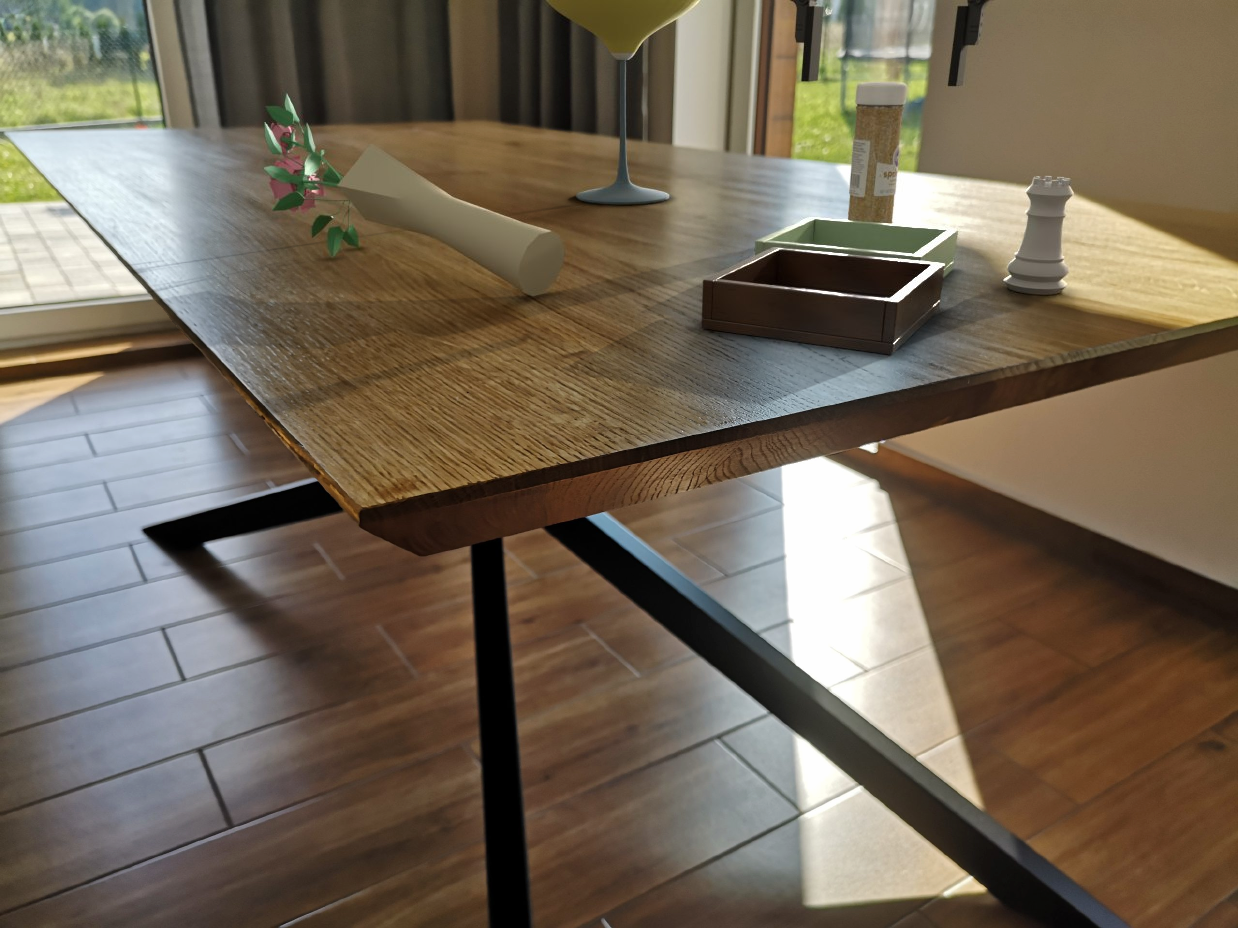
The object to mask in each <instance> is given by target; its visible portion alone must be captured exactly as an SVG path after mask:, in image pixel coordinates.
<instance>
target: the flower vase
mask: <svg viewBox="0 0 1238 928" xmlns="http://www.w3.org/2000/svg"><path fill="white" fill-rule="evenodd" d="M283 105H284V107H281V106H278V105H265V109H266V111H267V112H268V114H269V115H270V117H271V118H272V119H273V120H274V122H276V124H275V123H274V122H272V123H271V125H270V127H269V125H268V124H267V123H266V122H265V121H264V122H263V123H264V124H263V129H264V130H263V131H264V138H265V142H266V144H267V147H268V149H269V150H270V153H272V155H277V156H278V157H279V156H281V155H282V157H283V160H282V161H280V160H279V159H276V161H275V164H274V165H268V166H265V167H262V169H263V170H264V171H265V173H267V175H268V176H269V179H270V181H269V182H268V184H269V187H270V190H271V191H272V193H273V198H274V199H275V200H276V199H278V201H277V203H276V204H275V205H274V207H273V208H272V209H271V211H272V212H277V211H281V212H282V211H288V210H289V211H291V212H292V213H293V214H296V213H297V211H300V212H301V213H302V214H305V213H307V212H308V211H309V209H312V208H313V209H314V208H317V205H316V204H315V202H316V201H325V202H342V205H341V207H340V208H339V211H337V212H336V213H332V214H331V215H328V214H319V215H318V216H316V217H315V219H314V221H313V222H312V225H311V227H310V229H311V231H310V233H311V234H310V235H311V239H313V238H314V237H316V236H317V235H318V234H319V233H321V232H322V231H323V230H324V229H325V228H326V227H327V226H328V225H329V223H330V222H331V221H333V219H334V216H335V215H338V214H339V213H340V212H341V211H342V209H343V207H344V204H345V202H348V205H347V206H348V209H347V211H346V213H345V215H344V217H343V220H342V222H341V224H340V225H335V226H330V227H328V230H327V234H326V246H327V248H328V251H329V254H330V256H331V258H332V259H333V258H334V256H336V255H337V253H338V251H339V250H340V249H341V246H342V242H343V241H344V243H346V244H347V246H350V247H351V246H352V247H355V248H360V244H359V243H360V242H359V234H358V232H357V230H356V227H355V226H354V224H351V225H350V222H351V221H350V220H351V219H350V210H351V208H350V207H352V206H353V207H354V208H355V209H356V211H358V213H359V214H360V215H361V217H362V218H363V219H364V220H365V221H369V222H373V223H376V224H380V225H384V226H388V227H391V228H396V229H400V230H404V231H408V232H411V233H412V232H413V233H416V234H420V235H424V236H427V237H430V238H433V239H435V240H437V241H439V242H441V243H443V244H445V245H447V246H448V247H450V248H451V249H453V250H454V251H456V252H458V253H459V254H462V255H463V256H465V257H466V258H468V259H469V260H471V261H472V262H474V263H476V265H479V266H480V267H482V268H484V269H485V270H487V271H488V272H490V273H491V274H493V275H495V276H496V277H498V278H500V279H501V280H503V281H504V282H506V283H507V284H509V285H511V286H512V287H514V288H516V289H517V290H519V291H520V292H522V293H524V294H526V295H528V296H531V297H536V296H539V295H541V294H545V293H546V291H548V290H549V289H550V287H551V286H553V284H554V283H555V282H556V281H557V279H558V277H559V275H560V273H561V270H562V268H563V266H564V259H565V254H566V253H565V252H566V248H565V245H564V242H563V240H562V239H563V238H562V236H561V235H560V234H557V233H556V232H554V231H552V230H550V229H546V228H543V227H539V226H536V225H533V224H528V223H526V222H523V221H519V220H517V219H515V218H511V217H509V216H506V215H503V214H500V213H498V212H494V211H493V210H490V209H487V208H484V207H481V206H479V205H476V204H473V203H471V202H468V201H465V200H462V199H459V198H457V197H454V196H452V195H450V194H448V192H446V191H445V190H443V189H441V188H440V187H439V186H436V184H434V183H432V182H431V181H429V179H426V178H425V177H423V176H422V175H420V174H418V173H417V172H416V171H414V170H412V169H411V168H409V167H408V166H406V165H405V164H403V163H402V162H400V161H399V160H397V159H396V158H394V157H393V156H391V155H390V154H388V153H387V152H386V151H384V150H382V149H381V148H380V147H378V146H377V145H375V144H373V143H370V145H369V146H368V147H367V148H366V149H365V150H364V152H363V153H362V154H361V155H360V157H359V158H357V160H356V161H355V163H354V164H353V165H352V167H351V168H350V169H349V170H348V171H347V173H346V174H344V175H342V174H341V173H340V172H339V171H337V170H335V169H334V168H333V166H332V165H331V164H330V163H329V162H328V161H327V160H326V158H325V157H324V154H325V150H324V149H321V150H320V153H319V152H318V151H317V150H316V144H315V141H314V139H313V135H312V131H311V128H310V126H309V124H308V122H306V123H305V126H304V130H303V128H302V125H301V124H300V121H301V120H300V119H299V117H298V115H297V112H296V109H295V107H294V105H293V103H292V101H291V99H290V97H289V95H288V93H285V97H284V104H283ZM295 122H296V123H297V124H298V125H299V126H298V125H297V124H296V123H295ZM292 125H294V126H296V127H297V128H298V129H299V130H300V131H301V133H302V135H303V143H301V142H298V139H299V136H296V132H297V130H296V127H293V126H292ZM294 147H295V148H297V147H301V148H303V149H305V151H306V152H308V153H309V154H308V155H307V156H306V158H305V160H304V163H303V161H302V160H301V155H300V154H295V155H293V156H288V155H289V154H290V155H291V154H293V152H292V151H293V150H294ZM324 164H325V165H326V166H327V169H326V170H325V167H324ZM320 165H321V167H322V170H323V175H320V174H319V173H320V170H319V169H320ZM323 186H327V187H332V188H335V189H339V190H340V191H341V192H342V194H343V195H344V196H345V197H346V199H324V198H323V199H321V198H315V195H316V196H319V197H325V196H326V191H325V190H324V187H323ZM308 190H310V191H308ZM299 209H300V210H299ZM347 214H348V217H347V218H348V224H347V225H348V226H347V229H346V230H345V231H344V230H343V229H342V228H341V227H342V225H343V224H344V221H345V219H346V216H347Z"/></svg>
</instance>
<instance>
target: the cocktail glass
mask: <svg viewBox="0 0 1238 928" xmlns="http://www.w3.org/2000/svg"><path fill="white" fill-rule="evenodd" d="M545 1H546V2H547V3H548V5H549V6H551V7H552V8H553V9H554V10H555V11H557V12H558V13H559V14H561V15H562V16H564V17H565V18H567V19H569V20H570V21H571V22H573V23H575V24H577V25H578V26H580V27H582V28H584V29H586V30H587V31H589V32H590V33H591V34H593V35H594V36H596V37H598V38H599V40H601V41H602V42H603V44H604V45H605V47H606V48H607V49H608V51H609V53H610V54H611V55H612V57H613V58H614V59H616V60H618V61H619V94H620V95H619V154H618V165H617V166H618V167H617V174H616V177H615V181H614V183H612V184H610V185H608V186H604V187H599V188H594V189H588V190H585V191H580V192H578V193H576V196H575V197H576V199H577V200H579V201H581V202H586V203H591V204H601V205H617V206H619V205H620V206H621V205H624V206H625V205H628V206H629V205H646V204H647V205H648V204H654V203H661V202H664V201H667V200H668V199H670V194H669V193H667V192H665V191H661V190H658V189H653V188H646V187H643V186H638V185H637V184H633V183H632V182H631V180H630V175H629V170H628V161H627V160H628V159H627V122H626V121H627V118H626V117H627V115H626V114H627V110H626V108H627V106H626V105H627V104H626V99H627V98H626V93H627V92H626V89H627V87H626V85H627V84H626V83H627V82H626V80H627V79H626V78H627V77H626V76H627V74H626V73H627V66H626V65H627V62H626V61H629V60H630V59H632V58H633V56H635V55H636V52H637V51H638V50H639V47H640V46H641V45H642V43H644V41H645V40H646V39H647V38H649V37H650V36H651V35H653V34H654V33H655V32H657V31H659V30H660V29H663V28H664V27H666V26H667V25H669V24H671V23H673V22H675V21H676V20H678V19H679V18H681V17H682V16H684V15H686V14H687V13H688V12H689V11H691V10H692V9H694V7H695V6H696V5H698V3H699V2H700V1H701V0H545Z"/></svg>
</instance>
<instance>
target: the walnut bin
mask: <svg viewBox="0 0 1238 928" xmlns="http://www.w3.org/2000/svg"><path fill="white" fill-rule="evenodd" d="M944 266H945V264H942V263H933V262H922V261H912V260H902V259H891V258H881V257H871V256H861V255H850V254H840V253H830V252H819V251H809V250H799V249H788V248H778V247H772V248H770V249H768V250H766V251H763V252H761V253H759V254H757V255H755V254H754V255H753V256H750V257H748V258H746V259H744V260H742V261H740V262H738V263H736V264H734V265H732V266H729V267H727V268H725V269H723V270H721V271H718V272H717V273H715V274H712V275H710V276H708V277H706V278H704V279H702V295H701V296H702V298H701V304H702V305H701V329H702V330H711V331H716V332H724V333H731V334H737V335H738V334H739V335H747V336H754V337H761V338H768V339H774V340H781V341H789V342H797V343H804V344H809V345H810V344H811V345H818V346H825V347H831V348H840V349H846V350H847V349H848V350H855V351H861V352H869V353H874V354H875V353H876V354H883V355H891V356H892V355H894V354H895V353H896V351H897V350H899V349H900V348H901V347H902V346H903V345H904V343H906V342H907V341H908V340H909V339H910V338H911V337H912V336H913V335H914V334H915V333H917V332H918V330H919V329H920V328H921V327H922V326H924V324H925V323H927V322H928V321H929V320H930V319H931V318H932V317H933V316H934V315H935V314H936V313H938V312H939V310H940V306H941V297H942V291H943V290H942V289H943V281H944V277H943V274H944Z"/></svg>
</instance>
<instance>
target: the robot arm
mask: <svg viewBox="0 0 1238 928" xmlns="http://www.w3.org/2000/svg"><path fill="white" fill-rule="evenodd" d="M789 1H790V2H792V3H793V4H794V5H795V7H796V11H795V13H796V14H795V27H794V28H795V29H794V39H795V43H797V44H803V47H802V50H803V52H802V63H801V65H802V66H801V78H800V82H802V83H803V82H809V83H810V82H816V81H817V82H818V81H819V74H820V73H819V71H820V61H821V60H820V59H821V57H820V56H821V46H822V34H823V33H822V32H823V21H824V9H825V8H824V6H819V5H818V2H817V1H818V0H789ZM992 1H994V0H966V3H967V5H957V8H956V16H955V22H954V32H953V41H952V47H951V55H950V57H951V58H950V65H949V73H948V80H947V87H960V86H963V84H964V78H965V72H966V71H965V69H966V64H967V63H966V62H967V56H968V55H967V54H968V47H969V46H979V43H980V41H981V39H982V34H983V33H982V31H983V27H984V25H983V24H984V17H985V11H986V7H987V5H988V4H989V3H991V2H992ZM816 5H817V6H816Z"/></svg>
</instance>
